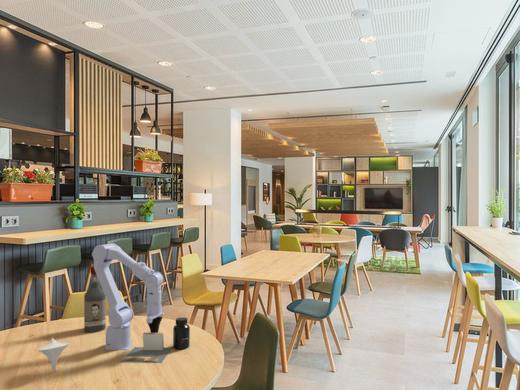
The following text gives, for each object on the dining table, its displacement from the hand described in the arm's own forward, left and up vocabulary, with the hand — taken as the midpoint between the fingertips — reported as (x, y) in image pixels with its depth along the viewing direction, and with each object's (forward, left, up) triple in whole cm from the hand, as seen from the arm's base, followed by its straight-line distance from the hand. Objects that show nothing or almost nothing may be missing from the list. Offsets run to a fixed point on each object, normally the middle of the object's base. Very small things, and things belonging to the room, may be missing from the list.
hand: (154, 335), depth 168 cm
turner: (-2, -12, -6) cm, 13 cm away
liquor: (-37, +26, -6) cm, 46 cm away
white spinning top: (-30, -22, -6) cm, 38 cm away
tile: (0, -1, -6) cm, 6 cm away
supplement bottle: (+10, +3, -6) cm, 12 cm away
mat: (-1, -6, -6) cm, 9 cm away
